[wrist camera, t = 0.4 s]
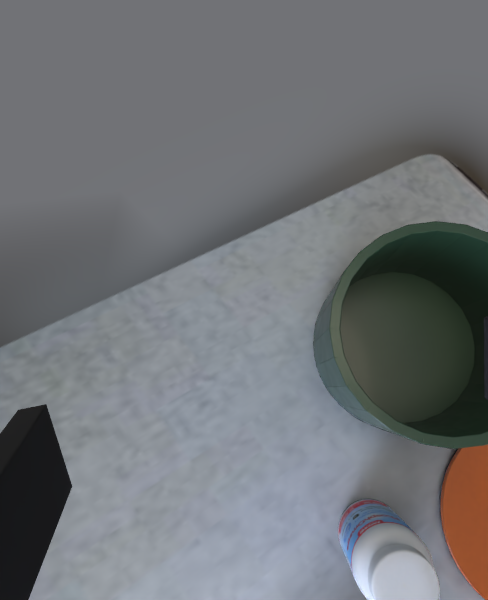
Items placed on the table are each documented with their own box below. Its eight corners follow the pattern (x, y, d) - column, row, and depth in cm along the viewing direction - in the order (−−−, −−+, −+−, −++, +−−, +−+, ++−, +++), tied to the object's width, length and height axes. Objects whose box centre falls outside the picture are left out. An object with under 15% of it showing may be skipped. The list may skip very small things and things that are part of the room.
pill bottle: (376, 484, 41) (414, 520, 30) (415, 544, 40) (471, 603, 29) (323, 521, 41) (343, 570, 30) (362, 582, 40) (397, 656, 29)
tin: (512, 331, 43) (608, 309, 31) (418, 467, 41) (481, 500, 29) (375, 236, 46) (413, 181, 34) (280, 359, 44) (285, 348, 32)
